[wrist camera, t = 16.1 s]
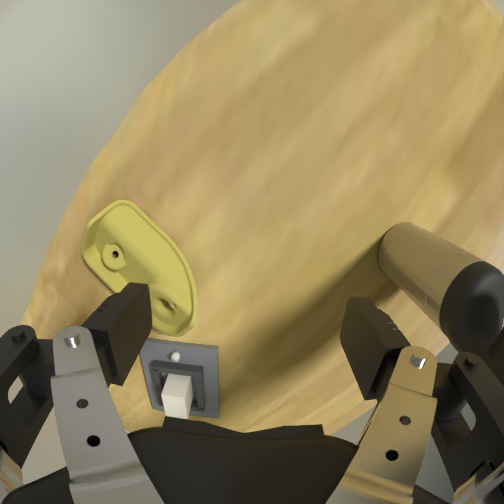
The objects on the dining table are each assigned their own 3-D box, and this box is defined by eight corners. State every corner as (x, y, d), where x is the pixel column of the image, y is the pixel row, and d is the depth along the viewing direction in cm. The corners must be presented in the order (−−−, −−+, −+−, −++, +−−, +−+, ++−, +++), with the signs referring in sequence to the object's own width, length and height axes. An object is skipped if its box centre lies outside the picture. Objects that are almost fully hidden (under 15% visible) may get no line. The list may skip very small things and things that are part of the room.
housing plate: (218, 346, 45) (216, 356, 42) (218, 414, 51) (217, 424, 48) (139, 336, 45) (134, 345, 42) (154, 405, 50) (150, 415, 48)
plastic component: (79, 256, 38) (88, 217, 31) (109, 232, 43) (124, 193, 37) (171, 343, 40) (199, 323, 34) (193, 311, 46) (224, 286, 40)
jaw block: (190, 374, 46) (184, 398, 40) (192, 396, 48) (187, 419, 42) (169, 371, 46) (161, 394, 40) (172, 393, 48) (165, 415, 42)
